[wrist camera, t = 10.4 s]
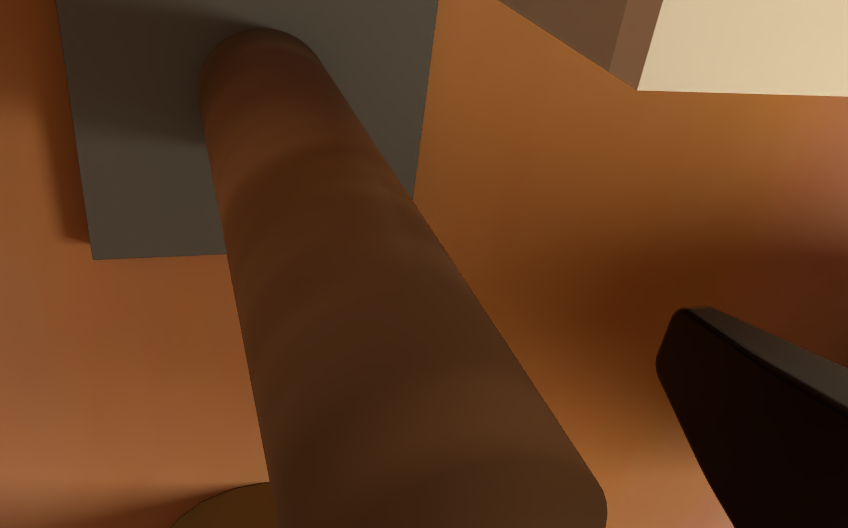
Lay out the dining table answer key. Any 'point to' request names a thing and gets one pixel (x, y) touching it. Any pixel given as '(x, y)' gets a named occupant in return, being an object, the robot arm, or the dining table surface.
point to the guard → (706, 42)
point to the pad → (179, 110)
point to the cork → (234, 510)
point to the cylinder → (366, 323)
